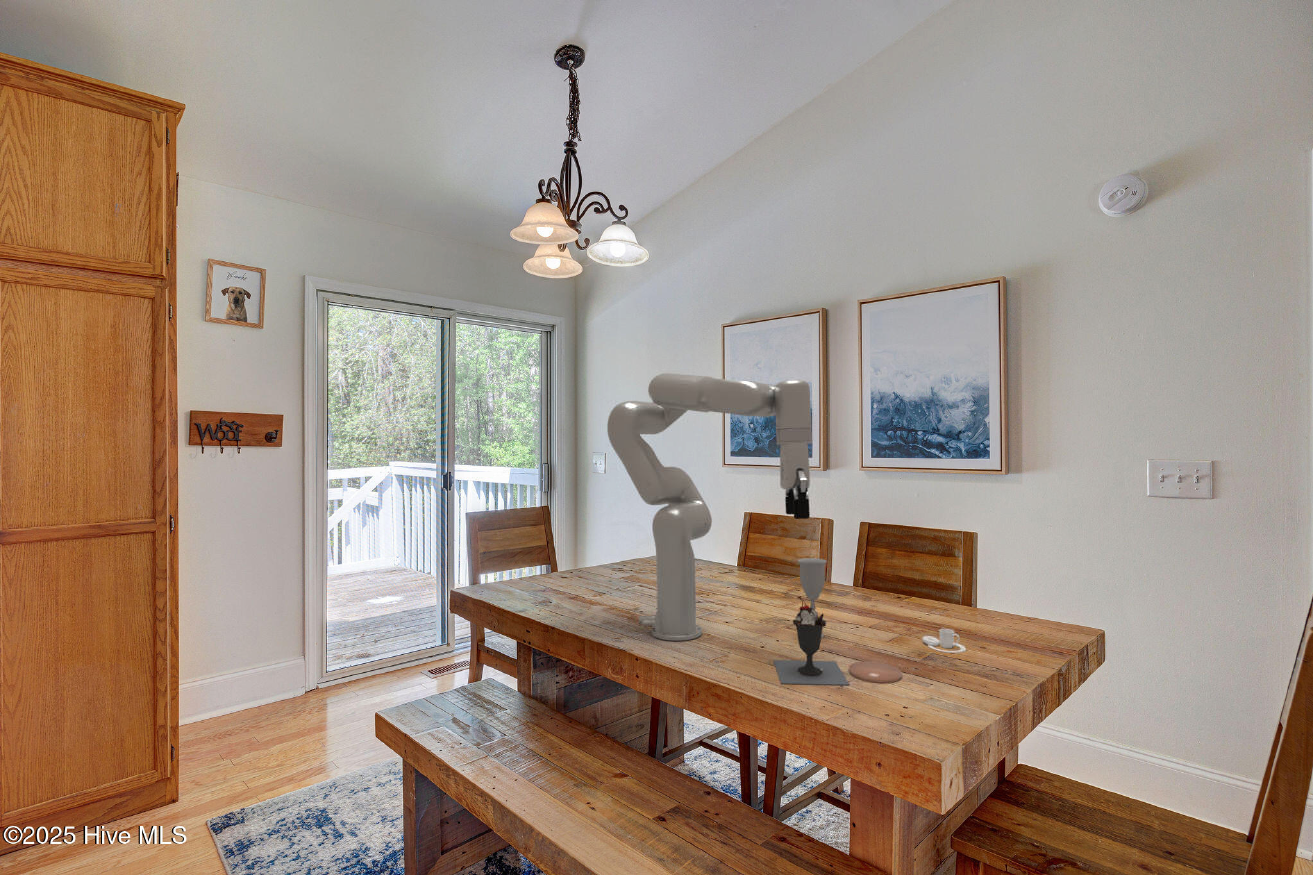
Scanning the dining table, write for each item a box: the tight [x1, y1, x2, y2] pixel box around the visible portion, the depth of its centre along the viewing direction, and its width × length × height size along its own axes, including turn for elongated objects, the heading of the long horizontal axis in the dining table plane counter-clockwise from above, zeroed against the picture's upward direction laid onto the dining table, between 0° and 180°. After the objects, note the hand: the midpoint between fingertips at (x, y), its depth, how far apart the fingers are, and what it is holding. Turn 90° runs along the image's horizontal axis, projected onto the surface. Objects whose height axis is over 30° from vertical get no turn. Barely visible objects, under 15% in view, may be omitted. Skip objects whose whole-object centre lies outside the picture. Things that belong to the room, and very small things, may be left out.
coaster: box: [848, 660, 903, 684], centre depth 128 cm, size 10×10×1 cm
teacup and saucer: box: [922, 628, 967, 654], centre depth 144 cm, size 9×8×4 cm
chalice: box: [797, 557, 828, 639], centre depth 153 cm, size 7×7×18 cm
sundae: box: [792, 595, 827, 676], centre depth 129 cm, size 7×7×15 cm
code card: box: [773, 659, 851, 686], centre depth 129 cm, size 13×13×1 cm
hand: (797, 516), depth 138 cm, fingers open, 9 cm apart
